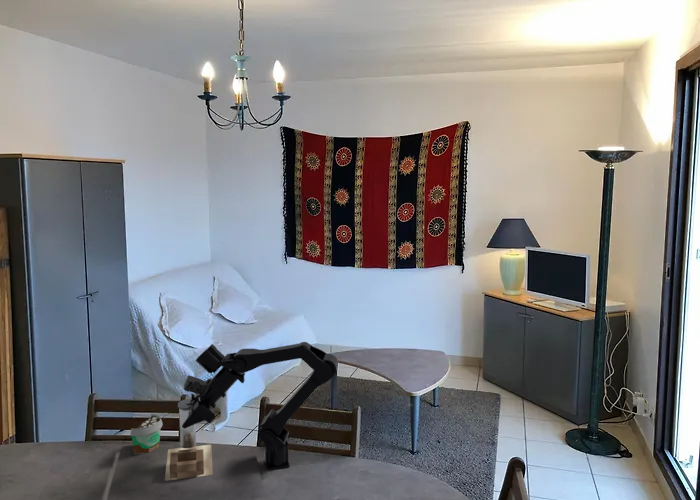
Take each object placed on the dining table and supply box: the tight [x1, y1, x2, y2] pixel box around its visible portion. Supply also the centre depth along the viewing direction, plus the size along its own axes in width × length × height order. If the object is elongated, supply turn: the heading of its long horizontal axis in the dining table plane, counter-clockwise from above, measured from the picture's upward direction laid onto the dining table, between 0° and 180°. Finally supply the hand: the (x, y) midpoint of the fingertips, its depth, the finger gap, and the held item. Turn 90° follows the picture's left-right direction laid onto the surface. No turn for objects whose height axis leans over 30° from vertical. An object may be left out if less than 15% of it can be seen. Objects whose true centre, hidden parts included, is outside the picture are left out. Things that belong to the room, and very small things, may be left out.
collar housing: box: [164, 444, 214, 481], centre depth 168 cm, size 13×19×6 cm
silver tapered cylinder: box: [177, 398, 197, 448], centre depth 166 cm, size 5×5×13 cm
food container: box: [130, 413, 164, 455], centre depth 176 cm, size 12×6×10 cm, turn 168°
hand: (182, 424), depth 165 cm, fingers closed on silver tapered cylinder, 4 cm apart
